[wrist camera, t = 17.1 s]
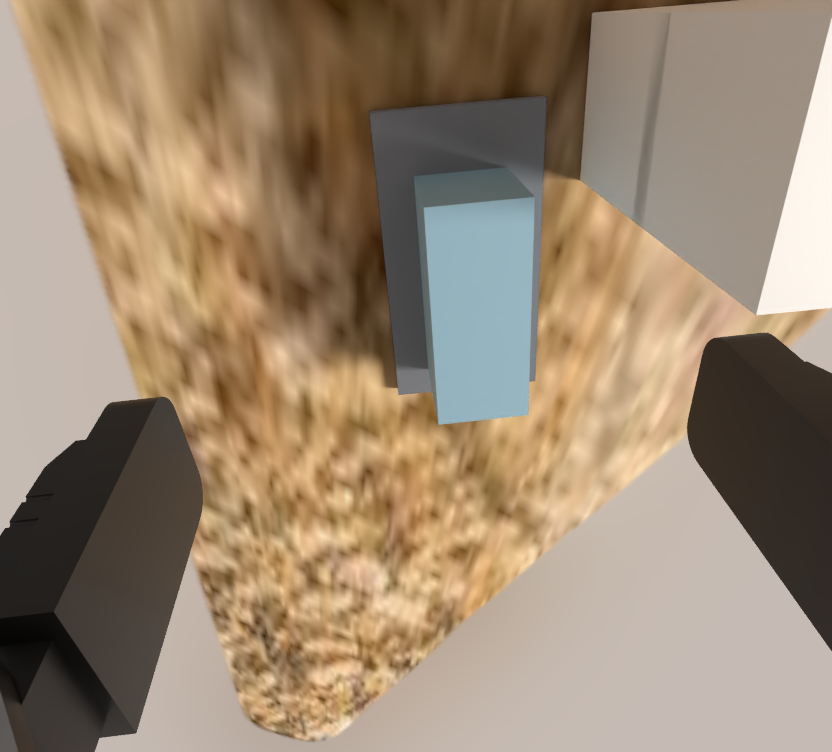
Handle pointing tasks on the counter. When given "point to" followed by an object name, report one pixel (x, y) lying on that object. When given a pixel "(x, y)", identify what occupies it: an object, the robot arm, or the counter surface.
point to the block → (476, 291)
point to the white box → (720, 140)
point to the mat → (435, 154)
